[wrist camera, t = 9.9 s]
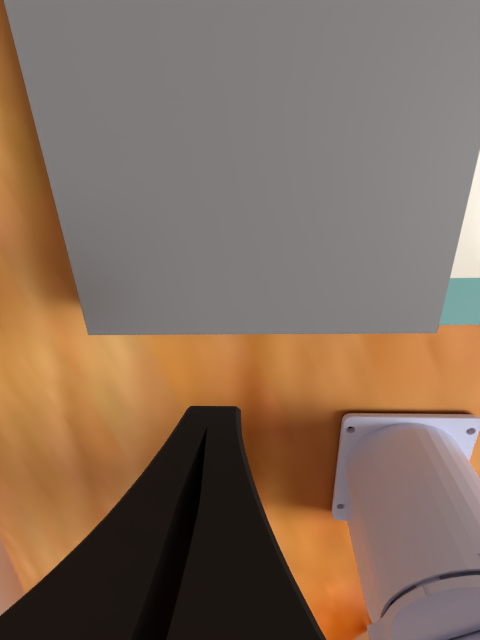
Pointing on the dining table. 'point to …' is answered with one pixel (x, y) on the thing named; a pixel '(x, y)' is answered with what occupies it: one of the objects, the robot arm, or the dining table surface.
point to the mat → (462, 302)
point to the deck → (256, 158)
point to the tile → (469, 235)
